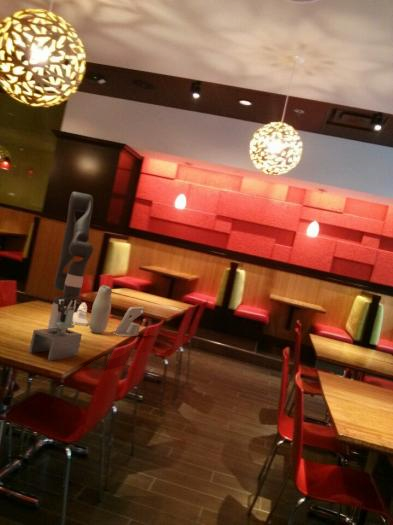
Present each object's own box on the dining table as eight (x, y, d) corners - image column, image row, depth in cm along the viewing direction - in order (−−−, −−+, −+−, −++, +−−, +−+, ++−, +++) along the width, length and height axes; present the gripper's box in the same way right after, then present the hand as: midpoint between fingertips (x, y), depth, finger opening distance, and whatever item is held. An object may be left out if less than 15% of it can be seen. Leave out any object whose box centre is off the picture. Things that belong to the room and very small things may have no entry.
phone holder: (127, 330, 280) (133, 303, 280) (139, 335, 276) (146, 307, 276) (110, 332, 265) (116, 303, 264) (123, 337, 260) (130, 307, 260)
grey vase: (108, 334, 259) (118, 288, 258) (96, 335, 250) (107, 287, 249) (95, 329, 263) (105, 284, 263) (83, 330, 254) (94, 283, 254)
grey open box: (57, 347, 208) (61, 327, 208) (77, 355, 203) (81, 334, 203) (28, 352, 192) (33, 330, 192) (49, 360, 187) (54, 337, 187)
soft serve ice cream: (88, 325, 280) (98, 305, 279) (83, 331, 265) (93, 310, 264) (71, 316, 279) (80, 296, 278) (64, 321, 264) (74, 301, 263)
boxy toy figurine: (61, 337, 204) (67, 307, 204) (71, 341, 202) (77, 310, 201) (51, 339, 199) (58, 307, 198) (62, 342, 196) (68, 311, 196)
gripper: (77, 283, 208) (69, 318, 208) (56, 282, 195) (48, 320, 195) (89, 287, 205) (81, 323, 205) (69, 286, 192) (61, 324, 192)
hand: (65, 321), depth 200 cm, fingers closed on boxy toy figurine, 4 cm apart
